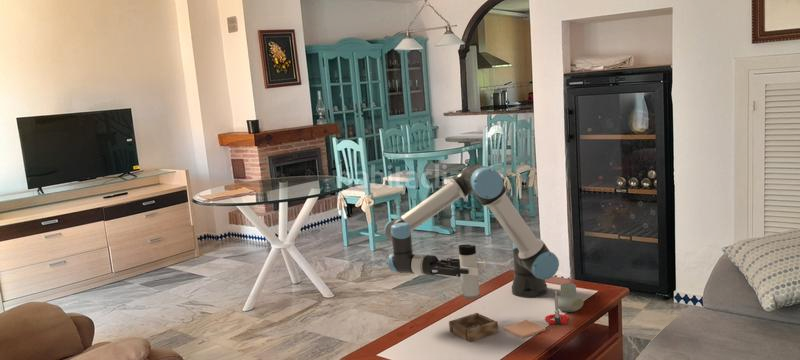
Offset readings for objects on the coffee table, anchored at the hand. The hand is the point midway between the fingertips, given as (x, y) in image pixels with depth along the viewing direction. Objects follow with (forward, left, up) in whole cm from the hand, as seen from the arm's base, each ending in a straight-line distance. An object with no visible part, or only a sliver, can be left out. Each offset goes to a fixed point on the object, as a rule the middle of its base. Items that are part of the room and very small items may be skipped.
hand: (481, 268), depth 234 cm
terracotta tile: (-12, +7, -25) cm, 29 cm away
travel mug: (+3, -4, -11) cm, 12 cm away
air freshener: (-39, +3, -25) cm, 46 cm away
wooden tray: (+3, -4, -25) cm, 25 cm away
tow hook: (-27, +8, -25) cm, 38 cm away
